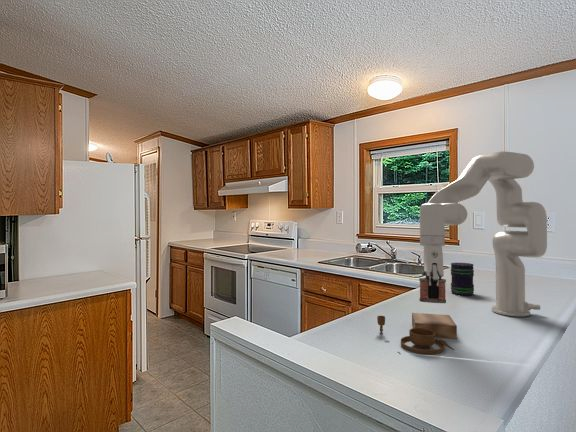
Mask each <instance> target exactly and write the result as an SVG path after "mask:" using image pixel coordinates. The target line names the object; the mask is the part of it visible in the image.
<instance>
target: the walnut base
mask: <svg viewBox="0 0 576 432" xmlns="http://www.w3.org/2000/svg"><path fill="white" fill-rule="evenodd" d="M411 325H412V328H425V329H429V330H432V331H434V332H435V338H439V339H454V340H456V339H458V333H457V332H458V330H457V329H458V328H457V327H458V326H457V324H456V323H455V321H454V320H453V318H452V317H451V315H450V314H438V313H422V312H411Z"/></svg>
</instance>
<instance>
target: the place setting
mask: <svg viewBox="0 0 576 432" xmlns="http://www.w3.org/2000/svg"><path fill="white" fill-rule="evenodd" d="M376 318H377V319H376V321H377V324H378V326H379V334H380V335H383V334H384V329H383V326H385V324H386V316H385V315H377V317H376ZM408 332H409V335H407V336H403V337H401V338H400V345H401V346H402V347H403V349H405V350H407V351H410V352H412V353H415V354H421V355H437V354H440V353H442V352H444V350H445V348H446V346H447V347H448V348H449V349H451V350H452V351H456V349H454V348H453V347H451V345H449V344H448V343H447V341H446V340H443V339H442V338H438V339H437V338H436V337H435V332H434V331H432V330H429V329H425V328H413V327H412V328H410V329H409V331H408ZM384 342H385V343H387V344H388V343H390V341H389V340H384ZM408 342H410V343H411V344H413V345H414V346H415V347H412V346H410V345H407V344H406V343H408ZM434 345H436V346H438V347H439V348H437V349H430V347H432V346H434ZM397 353H398V354H399V355H402V353H401V352H400V351H397Z"/></svg>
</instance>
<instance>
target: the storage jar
mask: <svg viewBox="0 0 576 432" xmlns="http://www.w3.org/2000/svg"><path fill="white" fill-rule="evenodd" d="M450 275H451V282H450V291H451V294H452V295H454V294H455V296H458V295H460V296H459V297H473V296H474V293H475V292H474V291H475V288H474V287H475V285H474V276H475V270H474V263H470V262H469V263H468V262H451V263H450ZM472 295H473V296H472Z"/></svg>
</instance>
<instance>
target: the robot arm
mask: <svg viewBox="0 0 576 432" xmlns="http://www.w3.org/2000/svg"><path fill="white" fill-rule="evenodd" d="M534 168H535V163H534V160H533V158H532V157H531V156H530V155H528V154H525V153H521V152H515V151H513V152H512V151H503V150H502V151H496V152H491V153H485V154H480V155H477V156H475V157H473V158H472V159H471V161H470V162H469V163H468V164H467V166H466V167H465V169H463V171H462V172H461V174H460V175H459V176H458V178H457V179H456V180H454V181H453V182H451V183H449V184H448V185H446V186H444V187H443V188H441V189H440V190H439V191H436V192H435V193H434V194H433V196H431V198H430V199H429V200H428V201H427V203H422V204H421V205H420V207H419V246H423V269H424V270H423V271H425V272H426V275H427V276H428V278H429V286H428V298H431V299H439V283H438V278H439V277H438V274H439V275H440V276H441V278H443V277H444V274H445V273H444V271H445V270H444V254H443V253H444V252H443V247H445V246H446V243H445V242H446V238H445V237H446V236H445V235H446V234H445V233H446V231H445V230H446V229H445V226H458V225H462V224H463V223H465V221H466V220H467V217H468V211H467V209H466V207H465V206H464V205H463V204H461V203H460V202H463V201H465V200H469V199H471V198H474V197H475V196H477V195H478V194H479V193H481V190H482V189H483V188H484V186H485V185H486V183H487V182H490V183H491V186H493V188H494V191H495V199H496V202H495V203H496V221H497V223H498V225H500V226H501V227H503V228H504V227H505V228H506V227H507V228H526V231H523V230H501V231H498V232H496V233H495V234H494V235H493V237H492V241H491V242H492V248H493V251H494V258H495V259H494V260H495V305H492V306H491V311H492V312H494V313H495V314H499V315H503V316H509V317H518V318H519V317H520V318H521V317H529V316H530V315H531V310H534V311H540V310H541V305H540V304H536V303H535V304H534V303H530V302H529V303H528V302H527V301H526V268H525V265H524V262H523V261H522V259H521V258H520V257H522V258H523V257H524V258H542V257H543V256H544V255H545V254H546V252H547V249H548V221H547V219H548V218H547V217H548V216H547V212H546V209H545V207H544V205H543V204H542V203H540V202H536V201H526V202H525V201H523V190H522V187H521V185H520V183H519V182H518V181H517V180H515V179H523V178H527V177H529V176H531V175H532V173H533V172H534ZM430 272H431V273H430ZM438 272H439V273H438ZM426 275H425V276H426ZM430 275H433V276H430ZM431 278H433V279H431Z"/></svg>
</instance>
